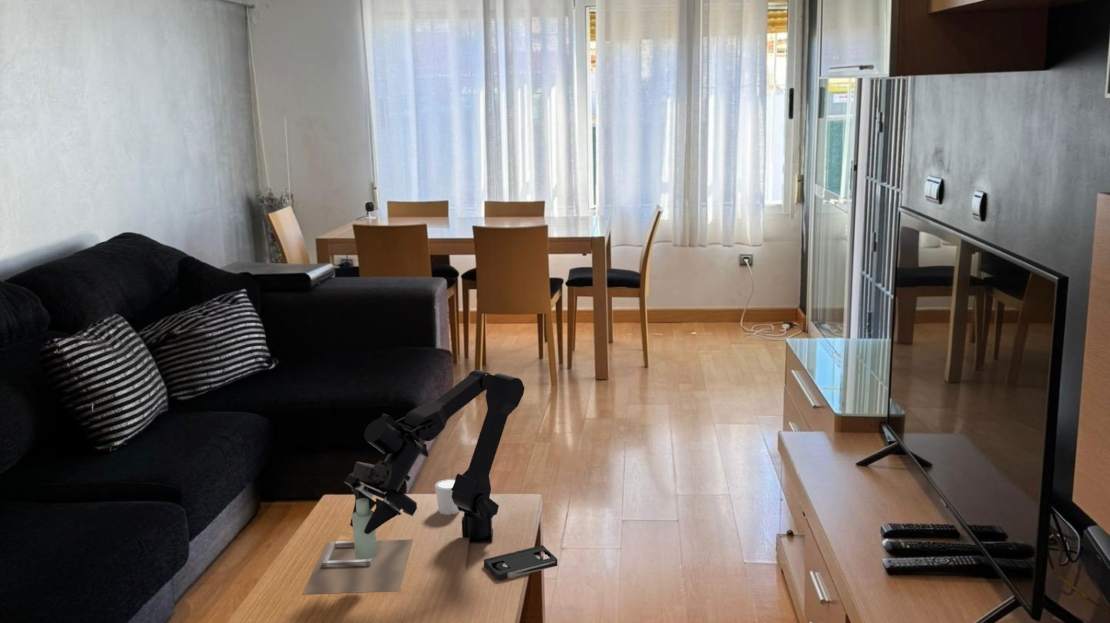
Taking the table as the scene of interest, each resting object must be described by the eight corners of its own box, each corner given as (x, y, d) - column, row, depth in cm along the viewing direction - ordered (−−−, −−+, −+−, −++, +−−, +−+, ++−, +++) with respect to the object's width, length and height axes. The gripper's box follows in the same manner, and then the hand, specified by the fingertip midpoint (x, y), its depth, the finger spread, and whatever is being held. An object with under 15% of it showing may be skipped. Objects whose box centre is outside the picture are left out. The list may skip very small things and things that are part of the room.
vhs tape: (498, 583, 209) (497, 574, 209) (484, 567, 216) (483, 559, 216) (558, 567, 215) (558, 559, 215) (542, 553, 222) (542, 545, 222)
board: (413, 543, 228) (412, 535, 227) (399, 595, 204) (398, 586, 204) (326, 546, 228) (325, 538, 227) (302, 598, 204) (301, 590, 204)
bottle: (379, 548, 209) (375, 495, 206) (375, 558, 205) (371, 504, 202) (357, 549, 209) (352, 496, 206) (353, 559, 204) (348, 505, 202)
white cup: (466, 504, 249) (465, 478, 247) (461, 516, 242) (459, 489, 240) (439, 504, 249) (438, 478, 248) (433, 515, 243) (432, 489, 241)
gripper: (348, 436, 211) (307, 501, 206) (401, 456, 198) (360, 526, 193) (380, 460, 218) (342, 523, 213) (434, 481, 205) (395, 549, 200)
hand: (358, 529), depth 204 cm, fingers closed on bottle, 5 cm apart
